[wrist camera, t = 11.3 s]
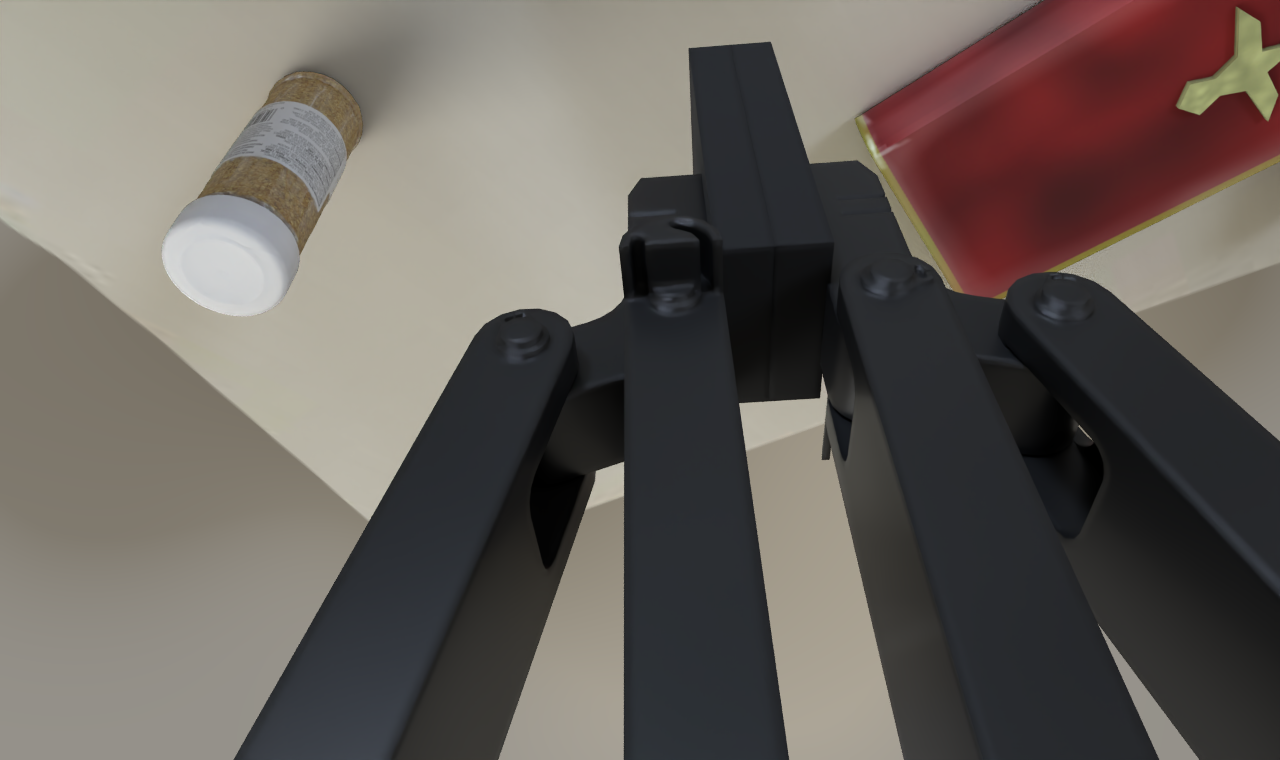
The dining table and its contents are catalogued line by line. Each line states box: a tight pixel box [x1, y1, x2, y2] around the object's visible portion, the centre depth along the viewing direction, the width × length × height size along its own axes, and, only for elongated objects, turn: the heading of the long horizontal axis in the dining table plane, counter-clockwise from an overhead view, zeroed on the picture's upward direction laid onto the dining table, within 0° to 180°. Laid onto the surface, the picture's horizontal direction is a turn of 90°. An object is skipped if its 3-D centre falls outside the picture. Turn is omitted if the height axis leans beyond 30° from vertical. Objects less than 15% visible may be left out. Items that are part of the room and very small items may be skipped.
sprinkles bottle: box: [162, 72, 363, 316], centre depth 37 cm, size 5×5×14 cm
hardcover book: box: [855, 0, 1280, 299], centre depth 40 cm, size 12×21×4 cm, turn 126°
